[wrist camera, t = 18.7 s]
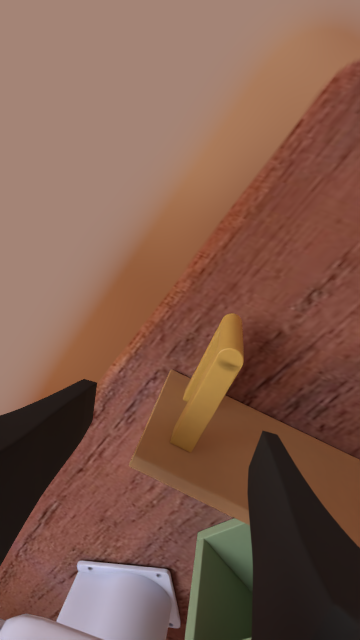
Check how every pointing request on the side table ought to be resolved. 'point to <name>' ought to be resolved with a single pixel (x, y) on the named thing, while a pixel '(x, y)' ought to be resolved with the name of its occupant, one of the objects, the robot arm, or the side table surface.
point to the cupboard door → (234, 440)
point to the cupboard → (222, 584)
